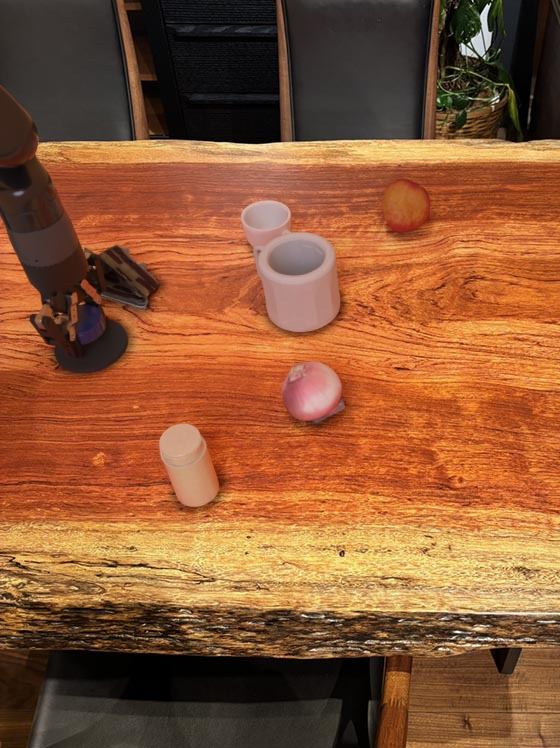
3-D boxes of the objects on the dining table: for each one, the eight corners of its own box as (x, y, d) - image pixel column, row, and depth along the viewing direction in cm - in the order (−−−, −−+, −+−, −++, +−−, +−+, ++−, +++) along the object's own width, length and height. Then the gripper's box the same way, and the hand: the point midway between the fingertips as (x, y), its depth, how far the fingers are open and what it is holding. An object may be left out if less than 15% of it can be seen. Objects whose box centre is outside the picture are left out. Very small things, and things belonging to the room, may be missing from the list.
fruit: (441, 224, 129) (442, 182, 123) (407, 248, 125) (407, 206, 119) (404, 204, 132) (404, 162, 126) (371, 227, 129) (368, 186, 123)
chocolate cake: (179, 284, 122) (129, 219, 120) (151, 303, 116) (97, 235, 114) (145, 311, 127) (96, 249, 125) (116, 330, 122) (64, 266, 120)
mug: (355, 299, 118) (351, 246, 110) (311, 344, 112) (303, 291, 104) (283, 267, 123) (274, 214, 115) (237, 309, 117) (225, 256, 110)
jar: (175, 510, 95) (155, 461, 87) (176, 474, 98) (156, 424, 91) (219, 503, 95) (203, 454, 88) (218, 467, 99) (202, 418, 91)
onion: (301, 379, 108) (295, 342, 102) (355, 393, 106) (351, 356, 100) (275, 423, 103) (267, 387, 97) (330, 439, 101) (326, 403, 95)
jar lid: (110, 314, 112) (105, 303, 111) (99, 345, 108) (95, 334, 107) (68, 315, 112) (63, 304, 111) (56, 345, 109) (51, 334, 107)
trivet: (50, 377, 110) (48, 373, 109) (62, 325, 116) (60, 321, 116) (123, 370, 110) (122, 366, 109) (131, 319, 117) (130, 315, 116)
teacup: (235, 245, 127) (229, 217, 123) (270, 221, 131) (265, 193, 127) (280, 271, 122) (275, 243, 118) (315, 245, 126) (311, 217, 122)
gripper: (43, 287, 94) (87, 382, 107) (101, 213, 103) (136, 308, 116) (-13, 278, 95) (37, 372, 108) (50, 206, 105) (89, 301, 117)
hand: (88, 339), depth 112 cm, fingers closed on jar lid, 5 cm apart
